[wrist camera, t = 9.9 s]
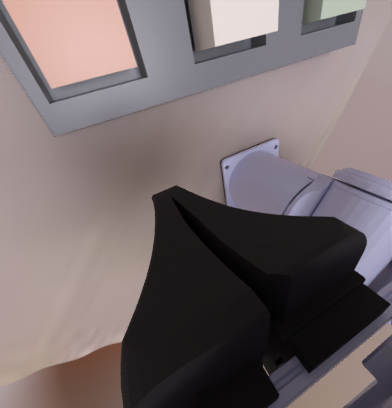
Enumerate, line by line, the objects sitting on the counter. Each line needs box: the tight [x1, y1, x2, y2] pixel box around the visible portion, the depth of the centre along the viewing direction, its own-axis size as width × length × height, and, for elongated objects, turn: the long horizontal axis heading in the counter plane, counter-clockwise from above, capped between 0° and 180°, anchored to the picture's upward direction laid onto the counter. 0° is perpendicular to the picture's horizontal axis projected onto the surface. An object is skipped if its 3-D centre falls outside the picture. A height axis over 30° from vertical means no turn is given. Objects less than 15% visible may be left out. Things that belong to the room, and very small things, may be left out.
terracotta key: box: [2, 0, 137, 88], centre depth 11 cm, size 5×5×3 cm
